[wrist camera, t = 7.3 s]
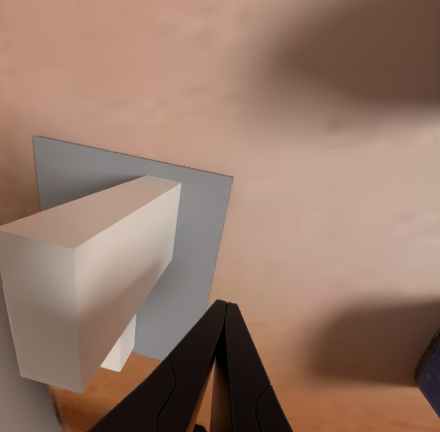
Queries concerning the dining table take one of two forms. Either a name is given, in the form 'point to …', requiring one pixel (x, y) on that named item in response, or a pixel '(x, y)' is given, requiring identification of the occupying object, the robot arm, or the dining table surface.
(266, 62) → the dining table surface
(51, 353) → the tile
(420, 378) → the flask
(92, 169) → the mat
